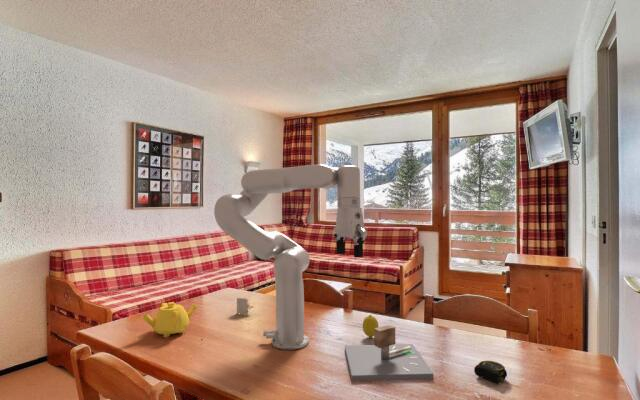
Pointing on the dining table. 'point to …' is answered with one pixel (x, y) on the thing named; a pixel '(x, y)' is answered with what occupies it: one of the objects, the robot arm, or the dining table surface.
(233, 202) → the robot arm
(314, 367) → the dining table surface
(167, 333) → the teapot
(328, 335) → the dining table surface
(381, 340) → the wooden block with handle
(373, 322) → the lemon
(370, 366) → the board
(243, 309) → the architectural model
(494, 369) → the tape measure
